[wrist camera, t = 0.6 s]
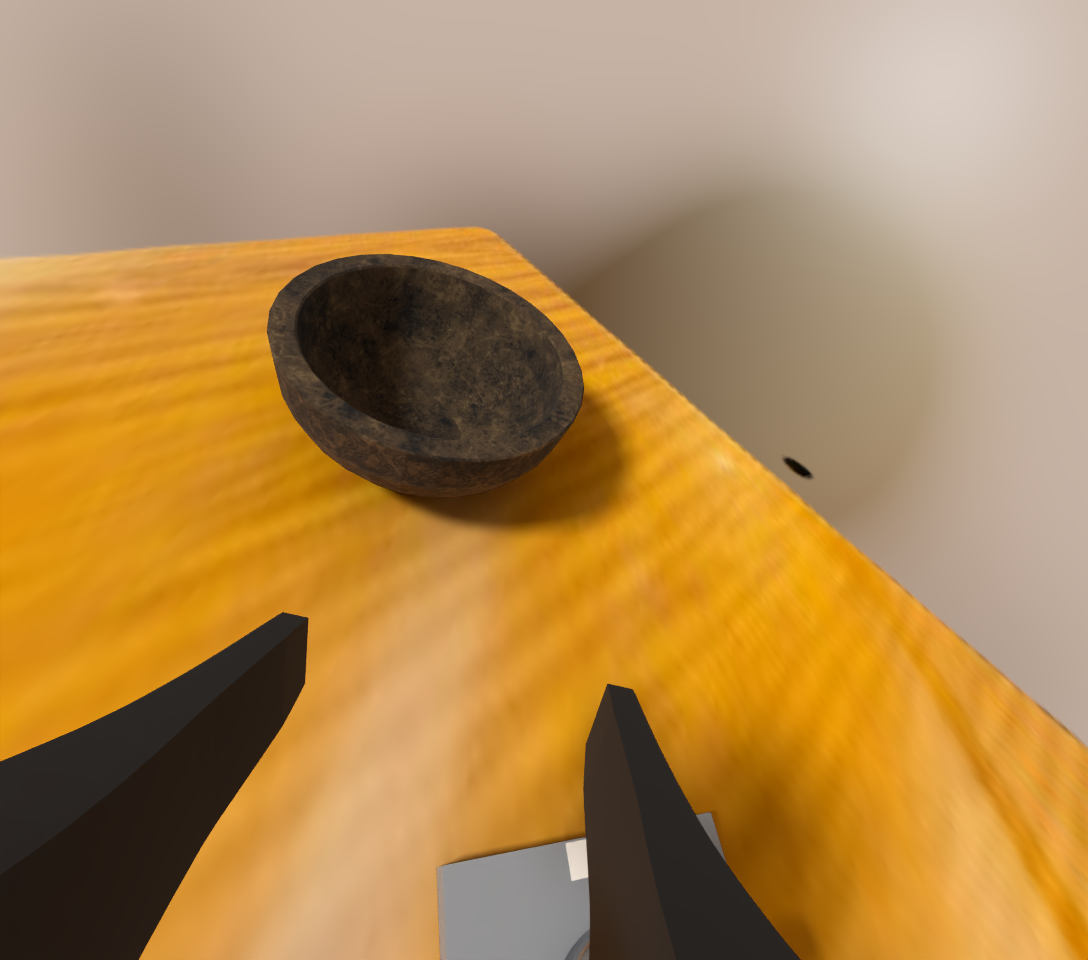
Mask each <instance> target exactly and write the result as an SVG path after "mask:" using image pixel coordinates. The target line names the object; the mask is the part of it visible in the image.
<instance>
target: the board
mask: <svg viewBox="0 0 1088 960" xmlns="http://www.w3.org/2000/svg"><path fill="white" fill-rule="evenodd" d="M696 816H697V818H698V819H699V821H700V823H701V824H702V826H703V828H704V829H705V831H706V833H707V834H708V836H709V837H710V839H711V841H712V842H713V844H714V845H715V847H716V848H717V850H718V851H719V853H720V854H721V856H722V857H723V859H724V860H725V857H724V854H723V850H722V847H721V844H720V841H719V837H718V834H717V831H716V828H715V825H714V821H713V818H712V815H711V812H708V813H703V814H698V815H696ZM725 862H726V860H725ZM437 887H438V912H439V937H440V960H565V958H566V956H567V954H568V953H569V951H570V950H571V948H572V947H573V945H574V944H575V943H576V942H577V941H578V939H579V938H580V937H581V936H582V935H583V934H584V933H586V932H587V931H588V930H589V929H590V903H589V883H588V865H587V847H586V837H583V838H578V839H573V840H568V841H563V842H558V843H553V844H548V845H543V846H538V847H533V848H528V849H523V850H518V851H513V852H508V853H503V854H498V855H493V856H488V857H483V858H478V859H473V860H468V861H463V862H458V863H453V864H448V865H443V866H440V867H438V868H437Z"/></svg>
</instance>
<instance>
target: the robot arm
mask: <svg viewBox="0 0 1088 960" xmlns="http://www.w3.org/2000/svg"><path fill="white" fill-rule="evenodd" d="M307 634H308V618H307V617H302V616H297V615H293V614H288V613H284V612H282V613H281V614H279V615H277V616H276V617H274V618H272V619H271V620H269V621H268V622H266V623H265V624H263V625H261V626H260V627H258V628H257V629H255V630H254V631H252V632H251V633H249V634H247V635H246V636H244V637H243V638H241V639H240V640H238V641H236V642H235V643H233V644H232V645H230V646H229V647H227V648H225V649H224V650H222V651H221V652H219V653H217V654H216V655H214V656H212V657H211V658H209V659H208V660H206V661H204V662H203V663H201V664H199V665H198V666H196V667H194V668H193V669H191V670H189V671H188V672H186V673H184V674H183V675H181V676H179V677H177V678H175V679H174V680H172V681H170V682H168V683H167V684H165V685H163V686H161V687H159V688H158V689H156V690H154V691H152V692H151V693H149V694H147V695H145V696H143V697H141V698H140V699H138V700H136V701H134V702H132V703H130V704H128V705H126V706H124V707H122V708H120V709H118V710H116V711H114V712H112V713H110V714H108V715H106V716H104V717H102V718H100V719H98V720H96V721H94V722H91V723H89V724H87V725H85V726H83V727H81V728H79V729H76V730H74V731H72V732H70V733H67V734H65V735H62V736H60V737H58V738H55V739H53V740H51V741H48V742H46V743H44V744H41V745H39V746H37V747H34V748H32V749H29V750H27V751H25V752H22V753H20V754H18V755H15V756H13V757H10V758H8V759H5V760H3V761H0V960H139V958H140V956H141V954H142V952H143V951H144V949H145V947H146V945H147V943H148V941H149V940H150V938H151V936H152V934H153V932H154V930H155V929H156V927H157V925H158V923H159V921H160V919H161V918H162V916H163V914H164V912H165V910H166V909H167V907H168V905H169V903H170V901H171V899H172V898H173V896H174V894H175V892H176V891H177V889H178V887H179V885H180V884H181V882H182V880H183V878H184V876H185V875H186V873H187V871H188V869H189V868H190V866H191V864H192V862H193V861H194V859H195V857H196V855H197V854H198V852H199V850H200V848H201V847H202V845H203V843H204V842H205V840H206V839H207V837H208V835H209V834H210V832H211V831H212V829H213V828H214V826H215V824H216V823H217V821H218V820H219V818H220V817H221V815H222V814H223V813H224V811H225V810H226V808H227V807H228V805H229V804H230V802H231V801H232V799H233V798H234V797H235V795H236V794H237V792H238V791H239V789H240V788H241V786H242V785H243V783H244V782H245V780H246V779H247V778H248V776H249V775H250V773H251V772H252V770H253V769H254V767H255V766H256V764H257V763H258V762H259V760H260V759H261V757H262V756H263V754H264V753H265V751H266V750H267V748H268V747H269V745H270V744H271V742H272V741H273V739H274V738H275V736H276V735H277V733H278V732H279V730H280V729H281V727H282V726H283V724H284V722H285V720H286V719H287V717H288V715H289V713H290V711H291V709H292V708H293V706H294V704H295V702H296V700H297V698H298V696H299V694H300V692H301V690H302V688H303V686H304V684H305V673H306V653H307ZM584 810H585V829H586V847H587V865H588V883H589V903H590V943H589V960H800V958H799V957H798V956H797V955H796V954H795V953H794V951H793V950H792V949H791V948H790V947H789V945H788V944H787V943H786V942H785V941H784V939H783V938H782V937H781V936H780V934H779V933H778V932H777V931H776V929H775V928H774V927H773V925H772V924H771V923H770V922H769V920H768V919H767V918H766V916H765V915H764V914H763V912H762V911H761V910H760V908H759V907H758V906H757V905H756V903H755V902H754V901H753V899H752V898H751V897H750V895H749V894H748V893H747V892H746V890H745V889H744V888H743V886H742V885H741V883H740V882H739V881H738V879H737V878H736V876H735V875H734V873H733V872H732V871H731V869H730V868H729V866H728V865H727V863H726V862H725V860H724V859H723V857H722V856H721V854H720V853H719V851H718V850H717V848H716V847H715V845H714V844H713V842H712V841H711V839H710V837H709V836H708V834H707V833H706V831H705V829H704V828H703V826H702V824H701V823H700V821H699V819H698V818H697V816H696V814H695V813H694V811H693V809H692V807H691V806H690V804H689V802H688V800H687V799H686V797H685V795H684V793H683V792H682V790H681V788H680V786H679V784H678V782H677V781H676V779H675V777H674V775H673V773H672V771H671V769H670V767H669V765H668V763H667V761H666V759H665V757H664V755H663V753H662V751H661V749H660V747H659V745H658V743H657V741H656V739H655V737H654V735H653V732H652V730H651V728H650V726H649V724H648V722H647V719H646V717H645V715H644V713H643V710H642V708H641V706H640V704H639V701H638V699H637V697H636V694H635V693H634V691H633V689H629V688H625V687H620V686H616V685H611V684H607V686H606V689H605V692H604V695H603V698H602V700H601V703H600V706H599V709H598V712H597V715H596V717H595V720H594V723H593V726H592V729H591V731H590V734H589V737H588V740H587V743H586V752H585V768H584Z"/></svg>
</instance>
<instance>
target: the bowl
mask: <svg viewBox="0 0 1088 960" xmlns="http://www.w3.org/2000/svg"><path fill="white" fill-rule="evenodd" d="M267 334H268V339H269V343H270V348H271V352H272V357H273V361H274V365H275V369H276V373H277V377H278V381H279V385H280V389H281V393H282V396H283V398H284V400H285V402H286V404H287V405H288V407H289V409H290V411H291V413H292V415H293V416H294V418H295V419H296V421H297V422H298V423H299V425H300V426H301V427H302V428H303V430H304V431H305V432H306V433H307V434H308V436H309V437H310V438H311V439H312V440H313V441H314V442H315V443H316V444H317V446H318V447H319V448H320V449H321V450H322V451H323V452H324V453H325V454H326V455H328V456H329V457H330V458H332V459H333V460H334V461H336V462H337V463H338V464H340V465H341V466H342V467H344V468H345V469H347V470H349V471H351V472H353V473H355V474H356V475H358V476H360V477H362V478H364V479H366V480H368V481H370V482H372V483H374V484H376V485H378V486H381V487H384V488H387V489H390V490H394V491H397V492H400V493H404V494H410V495H416V496H422V497H459V496H466V495H472V494H478V493H483V492H486V491H489V490H492V489H495V488H498V487H500V486H503V485H505V484H507V483H509V482H511V481H513V480H515V479H516V478H518V477H520V476H521V475H523V474H525V473H526V472H528V471H530V470H531V469H533V468H534V467H536V466H537V465H538V464H539V463H540V462H541V461H542V460H543V459H544V458H545V457H546V456H547V455H548V454H549V453H550V452H551V451H552V449H553V448H554V447H555V445H556V444H557V443H558V442H559V440H560V439H561V438H562V436H563V435H564V434H565V433H566V431H567V430H568V429H569V427H570V426H571V425H572V423H573V422H574V420H575V418H576V416H577V414H578V412H579V410H580V408H581V405H582V398H583V392H584V385H583V378H582V371H581V368H580V365H579V363H578V360H577V358H576V355H575V353H574V351H573V349H572V348H571V346H570V345H569V343H568V342H567V340H566V339H565V337H564V335H563V334H562V333H561V332H560V331H559V330H558V328H557V327H556V326H555V325H554V324H553V323H552V322H551V321H550V320H549V319H548V318H547V317H546V316H545V315H544V314H543V313H541V312H540V311H539V310H538V309H537V308H536V307H534V306H533V305H532V304H531V303H529V302H528V301H526V300H525V299H523V298H522V297H520V296H519V295H517V294H516V293H514V292H513V291H511V290H510V289H508V288H506V287H504V286H502V285H500V284H498V283H496V282H494V281H492V280H490V279H489V278H486V277H484V276H481V275H479V274H476V273H474V272H471V271H469V270H466V269H463V268H460V267H457V266H453V265H450V264H447V263H443V262H440V261H435V260H430V259H424V258H419V257H414V256H403V255H392V254H372V255H357V256H351V257H345V258H338V259H335V260H332V261H329V262H326V263H322V264H319V265H316V266H314V267H312V268H310V269H309V270H307V271H305V272H303V273H302V274H300V275H298V276H296V277H295V278H293V279H292V280H291V281H290V282H289V283H288V284H287V285H286V286H285V287H284V288H283V289H282V290H281V291H280V292H279V293H278V295H277V297H276V299H275V301H274V303H273V305H272V307H271V309H270V311H269V319H268V327H267Z"/></svg>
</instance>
